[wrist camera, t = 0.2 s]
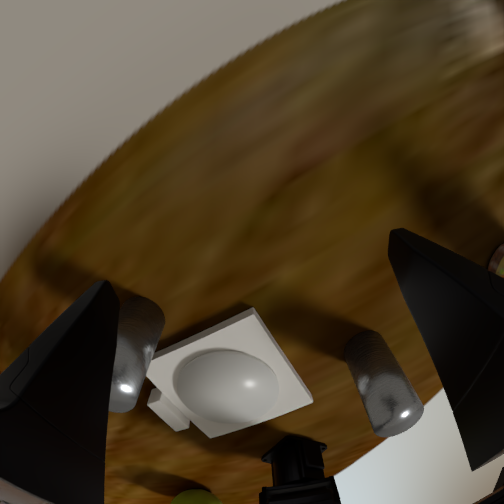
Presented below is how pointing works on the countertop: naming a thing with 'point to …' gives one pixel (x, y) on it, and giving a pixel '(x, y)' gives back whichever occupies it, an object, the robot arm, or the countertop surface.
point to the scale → (225, 378)
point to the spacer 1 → (134, 350)
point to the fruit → (196, 497)
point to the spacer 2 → (382, 385)
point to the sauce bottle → (497, 261)
